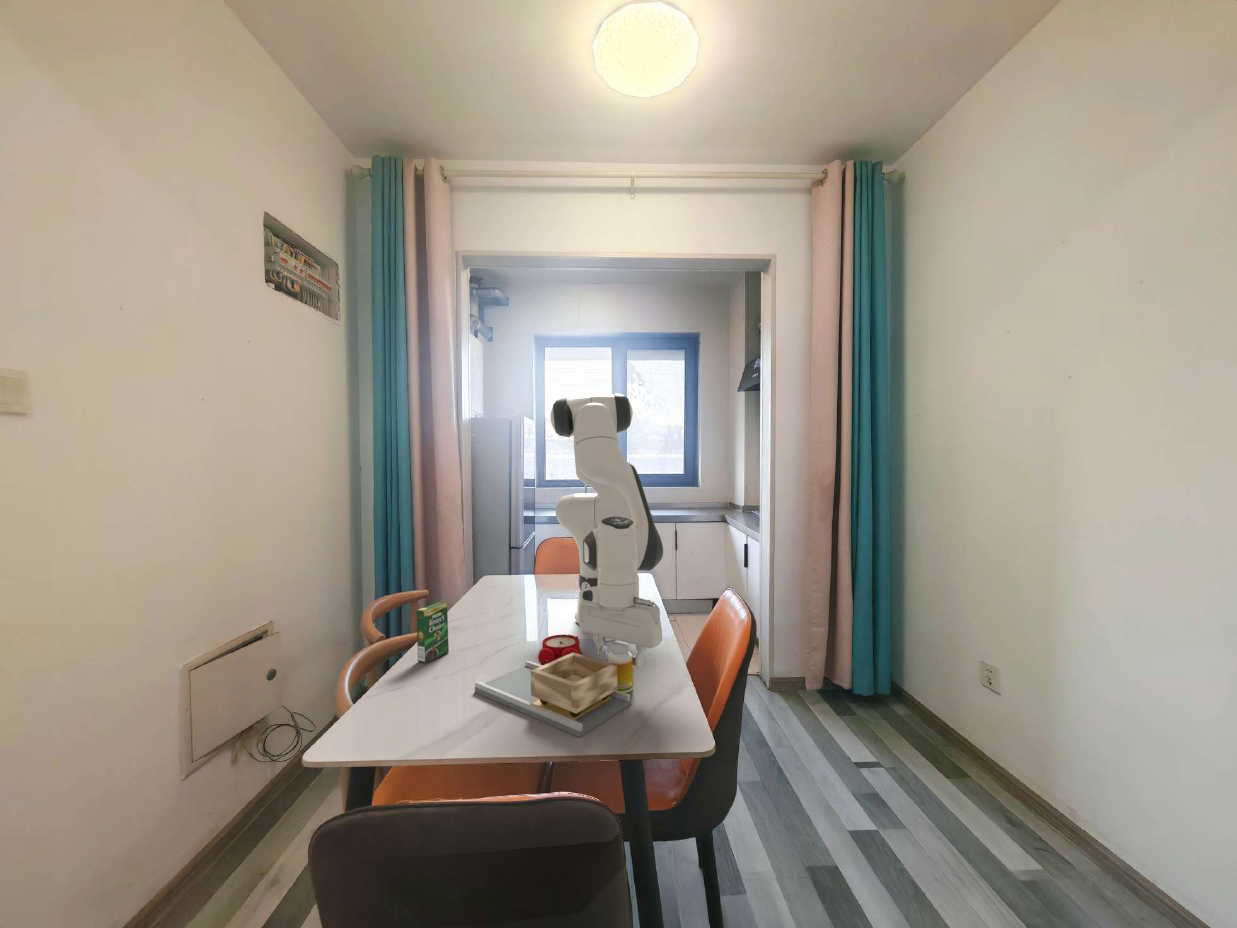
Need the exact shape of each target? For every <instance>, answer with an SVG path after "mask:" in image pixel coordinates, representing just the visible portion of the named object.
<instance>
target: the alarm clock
mask: <svg viewBox="0 0 1237 928" xmlns="http://www.w3.org/2000/svg"><path fill="white" fill-rule="evenodd" d="M541 644H542V647H541V649H540V650H539V652H538V654H537V655H538V657H537V658H538V662H539V664H540V665H545V664H548V663H550V662H552V661H554V660H557V659H559V658H561V657H564V656H566V655H568V654H570V653H573V652H574V653H577V654H580V655H583V652H582V650H581V648H580V639H579V636H576V635H572V634H555V635H550V636H547V637H544V639H543V640H542V642H541Z"/></svg>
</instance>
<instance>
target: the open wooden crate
mask: <svg viewBox="0 0 1237 928" xmlns="http://www.w3.org/2000/svg"><path fill="white" fill-rule="evenodd" d="M616 690H618V689H617V665H614V664H611V663H608V661H607V662H606V661H603V660H600V659H596V658H594V657H590V656H587V655H583V654H582V655H580V654H577V653H574V652H573V653H570V654H568V655H566V656H564V657H561V658H559V659H557V660H554V661H552V662H550V663H548V664H545V665H543V666H541V667H538V668H536V669H534V670H532V671H531V696H533V697H536V698H538V699H540V702H541V703H542V704H543V705H545V704H547V703H551V704H554V705H556V706H559V707H561V708H564V709H566V710H569V712H570V714H571V715H572V716H573V717H576V716H578V715H579V714H580V713H581V711H582V710H583V709H585V708H587V707H588V706H590V705H592V704H594V703H595V702H597V701H599V700H600V699H602V700H605V699H607V698H608V697H609V695H610V694H611V693H613V692H614V691H616Z"/></svg>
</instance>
